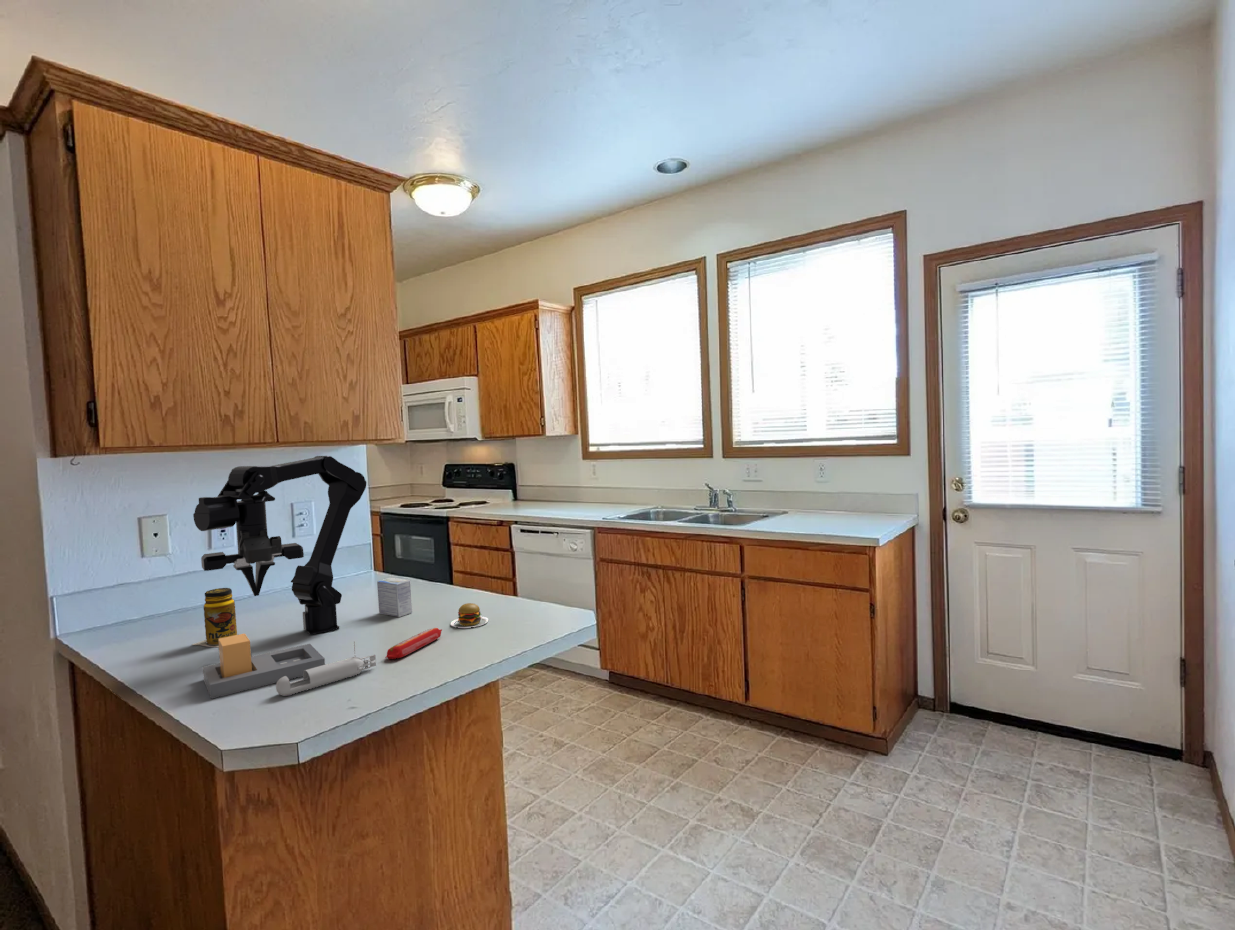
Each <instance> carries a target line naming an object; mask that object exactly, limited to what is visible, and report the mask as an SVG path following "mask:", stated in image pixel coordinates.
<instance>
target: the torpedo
mask: <svg viewBox="0 0 1235 930" xmlns="http://www.w3.org/2000/svg"><path fill="white" fill-rule="evenodd" d="M355 644H356V642H355V641H353V647H354V649H353V650H354V651H353V652H354V653H356V645H355ZM368 658H369V659H368ZM372 667H377V659H376V654H373V655H368V656H365V657H361V658H360V657H357V656H352V657H348V658H346V659H342V660H341V659H340V660H338V661H334V662H331V663H330V662H329V663H325V665H322V666H318V667H315V668H311V669H308V670H304V672H303V676H302V677H303V678H302V679H300V680H296V681H292V682H291V681H290V680H289V679H288V677H287V676H284V677H282V678H280V679H279V680H278V681H277V683H275V684H276V685H275V690H276V692H277V694H278V695H280V696H283V697H286V696H287V697H289V696H290V697H291V696H292V694H293V695H296V694H299V693H298V692H300V693H302V692H301V691H303V692H305V691H304V690H306V691H308V690H307V689H310V690H313V689H315V687H316V688H319V687H318V686H320V687H322V686H321V685H323V686H325V685H324V684H326V685H328V684H327V683H330V684H332V683H331V682H333V683H335V681H336V682H339V681H338V680H340V681H342V680H341V679H343V680H345V679H344V678H346V679H348V678H347V677H350V678H353V677H355V676H354V675H356V676H358V675H359V674H361V673H362V671H364V670H367V669H368V670H369V669H370V668H372ZM357 674H358V675H357ZM352 676H353V677H352ZM312 688H313V689H312ZM295 693H296V694H295Z"/></svg>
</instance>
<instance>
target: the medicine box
mask: <svg viewBox="0 0 1235 930" xmlns="http://www.w3.org/2000/svg"><path fill="white" fill-rule="evenodd" d="M411 586H412V585H411V580H410V579H404V578H397V577H387V578H384V579H380V580H378V581H377V599H378V602H377V603H378V613H379V614H382V615H385V616H386V615H387V616H392V617H398V618H401V617H404V616H406V615H410V614H412V613H413V603H412V588H411Z"/></svg>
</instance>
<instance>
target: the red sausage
mask: <svg viewBox="0 0 1235 930" xmlns="http://www.w3.org/2000/svg"><path fill="white" fill-rule="evenodd" d="M442 631H443V629H439V627H433V628H429V629H425V630H423V631H421V632H418V633H417V634H415V635H412V636H411V637H409V638H406V639H405V640H402V641H401V642H399V643H397V644H395V645H393V646H391V647H390V648H388V649H387V652H386V656H385V658H384V659H388V660H389V659H392V660H396V658H397V659H400V658H404V657H405V656H407V655H410V654H411V653H413V652H415V651H417V650H419V649H421V648H422V647H424V646H426V645H429V644H430V643H433V642H434V641H436V640H438V639H439V638H441V635H442Z"/></svg>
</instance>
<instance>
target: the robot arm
mask: <svg viewBox="0 0 1235 930" xmlns="http://www.w3.org/2000/svg"><path fill="white" fill-rule="evenodd" d="M315 475H318V477H320V479H321V481H322V482H324V483H325V484H326V485H328V488H327V495H328V501H329V504H328V505H329V506H328V508H327V511H326V513H325V516H324V518H323V521H322V523H321V528H320V530H319V533H318V536H317V538H316V542H315V544H314V547H313V550H312V553H311V555H310V558H309V560H308V562H306V563H305V564H304V565H297V566H296V568H295V573H294V576H293V577H292V579H291V580H290V583H292V584H291V585H292V586H291V592H292V593H293V595H294V596H295V598H297V600H298V602H299V604H300V605H304V611H303V612H302V623H303V624H302V625H303V630H304V631H305V632H307V634H309V635H316V634H322V633H326V632H327V633H328V632H331V631H337V630H340V626H339V625H338V619H337V618H338V616H337V605H338V604H340V603H341V601H342V596H343V595H342V593H341V592H340V591H338V590H337V589H336V588H334V587H333V581H334V574H333V568H332V564H333V562H334V558H335V555H336V552H337V550H338V547H339V543H340V541H341V537H342V535H343V532H344V530H345V526H346V523H347V521H348V520H347V519H348V518H349V514H350V511H351V510H352V508H353V507H354V506H355V505H356V504H357V503H358V502H359V501H360V500H361V499H362V497H363V494H364V492H365V490H366V488H367V480H366V478H365V477H364V475H363V474H362V473H361V472H358V471H355V470H354V469H353V468H351V467H349V466H347V465H346V464H344V463H341V462H339V461H338V460H337V459H336V458H335V457H333V456H331V455H316V456H314V457H311V458H305V459H299V460H294V461H289V462H285V463H280V464H274V465H243V466H241V465H240V466H236V467H234V468H232V469H231V471H230V473H229V475H228V479H227V481H226V482H225V484H224V485H223V487H222V489H221V490H220V492H219V493H218V495H217V496H202V497H201V496H200V497H198V504H196V506H195V508H194V513H193V514H192V515H193V521H194V524H195V527H196V528H197V529H198V530H199V531H201V532H207V531H213V530H221V529H228V528H231V527H232V528H233V527H234V526H235V525H236V540H237V541H236V542H237V553H234V554H226V553H224V552H223V551H219V552H211V553H204V554H203V555H202V556H201V558H200V560H201V561H200V562H201V568H202V570H203V571H204V572H205V571H206V572H209V571H214V570H215V571H216V570H221V569H224V568H225V567H226V566H227V565H228V564H232V565H233V568H234V570H236V571H241V573H242V574H243V576H244V578H245V579H246V581H247V583H248V585H249V587H250V590H251V592H252V595H253V596H254V597H256V596H259V595H260V592H261V590H262V586H263V583H264V581H265V576H266V575H267V572H268V570H269V569H270V567H272V566H275V565H276V562H275V561H274V560H275V558H281V557H284V558H286V559H287V560H295V559H301V558H304V557H305V556H304V553H305V552H304V547H303V546H302V545H300V544H299V543H297V542H293V543H292V542H291V543H283V544H282V538H281V536H280V535H277V536H270V537H269V535H268V523H267V509H266V502H268V503H269V502H274V501H275V500H276V497H275V496H273V495H271V494H270V493H269V491H268V490H270V489H272V488H274V487H275V486H276V485H278V484H280V483H283V482H287V481H290V480H295V479H299V478H304V477H309V476H315ZM252 564H255V576H254V569H253V568H254V566H253V565H252Z"/></svg>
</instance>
